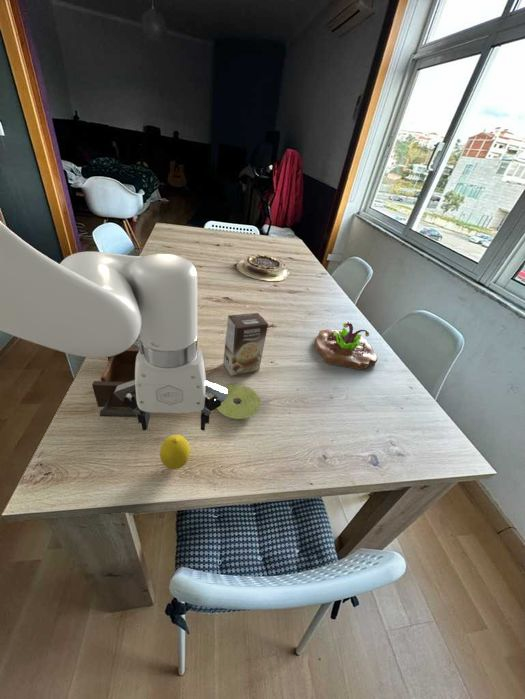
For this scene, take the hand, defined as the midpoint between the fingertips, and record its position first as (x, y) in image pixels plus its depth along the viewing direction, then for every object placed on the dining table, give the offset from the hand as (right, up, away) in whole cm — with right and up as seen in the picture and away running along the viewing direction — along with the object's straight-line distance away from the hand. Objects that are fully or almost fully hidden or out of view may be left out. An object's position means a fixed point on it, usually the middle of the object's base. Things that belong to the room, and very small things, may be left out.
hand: (175, 423), depth 51 cm
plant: (+43, +13, +48) cm, 66 cm away
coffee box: (+9, +8, +34) cm, 36 cm away
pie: (+16, +54, +97) cm, 112 cm away
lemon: (-2, -10, +7) cm, 13 cm away
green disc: (+9, -1, +22) cm, 24 cm away
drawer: (-16, +2, +19) cm, 25 cm away
